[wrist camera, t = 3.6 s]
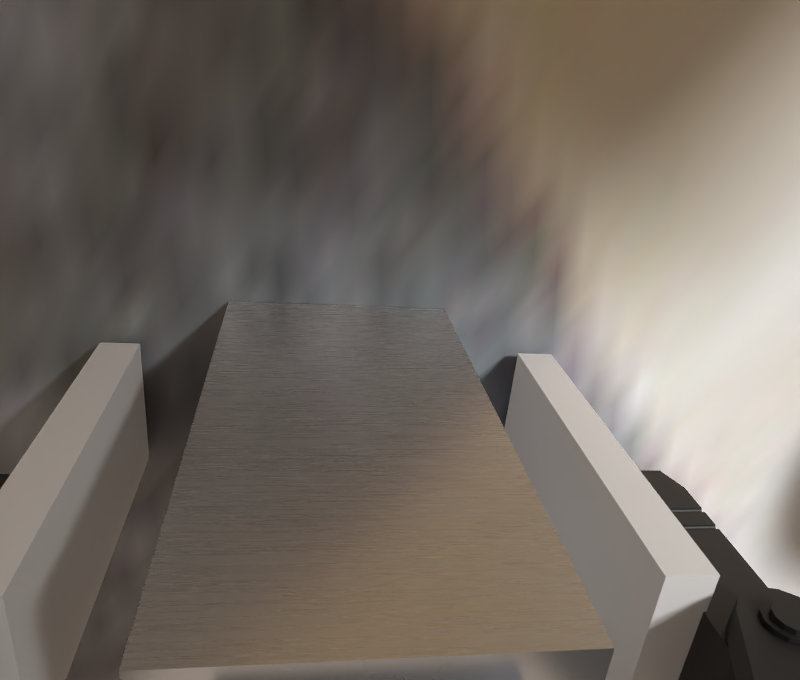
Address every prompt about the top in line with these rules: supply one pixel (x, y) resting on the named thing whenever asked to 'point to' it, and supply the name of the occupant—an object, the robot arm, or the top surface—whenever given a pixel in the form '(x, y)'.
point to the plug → (355, 517)
